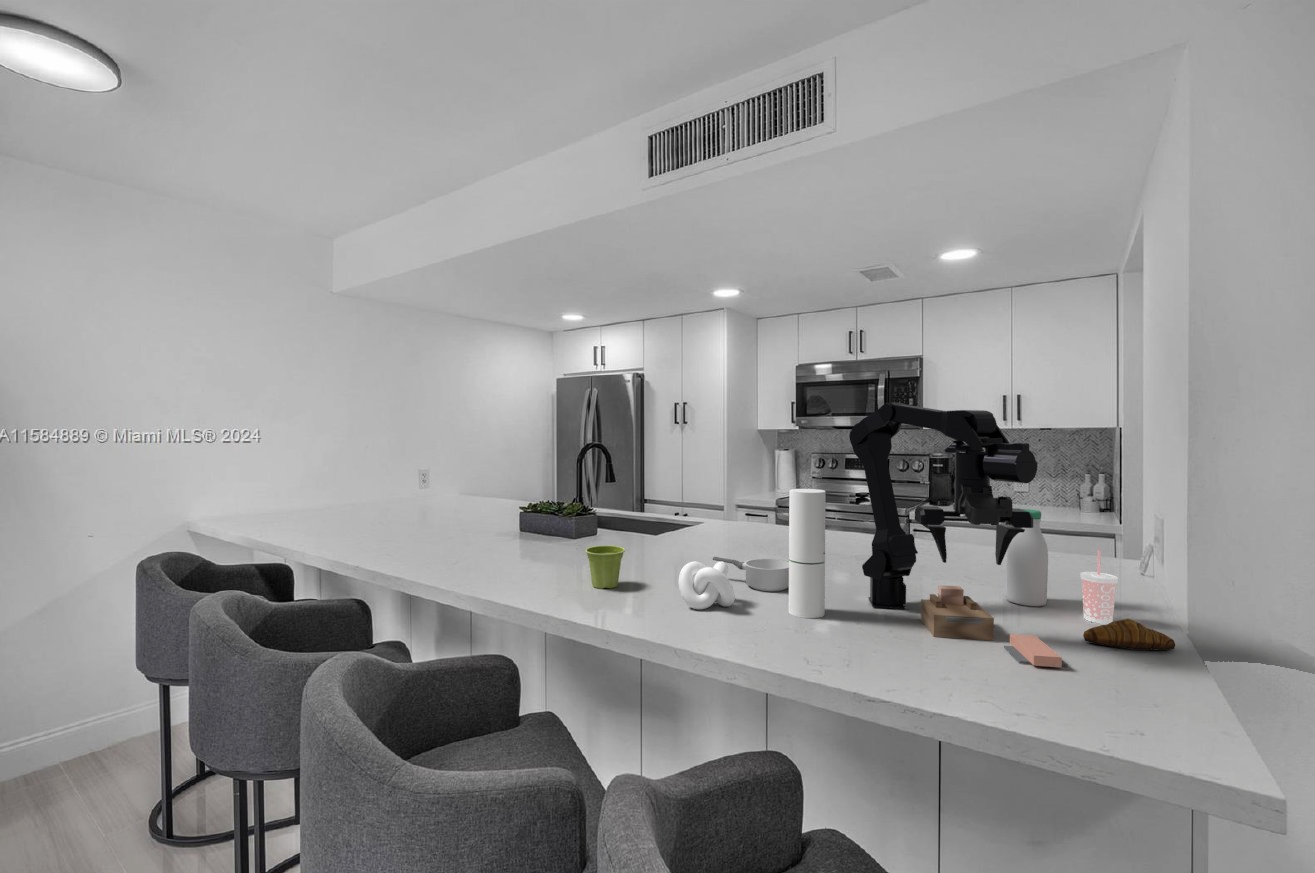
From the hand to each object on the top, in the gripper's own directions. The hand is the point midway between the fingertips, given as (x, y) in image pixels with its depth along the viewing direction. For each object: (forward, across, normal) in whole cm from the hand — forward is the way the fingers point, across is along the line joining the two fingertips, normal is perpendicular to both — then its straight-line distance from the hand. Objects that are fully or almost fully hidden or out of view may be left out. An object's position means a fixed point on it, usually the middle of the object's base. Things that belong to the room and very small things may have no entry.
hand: (971, 563), depth 112 cm
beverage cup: (+13, +27, +13) cm, 33 cm away
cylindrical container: (+13, -29, +7) cm, 33 cm away
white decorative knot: (+13, -50, +8) cm, 52 cm away
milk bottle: (+13, +18, +24) cm, 33 cm away
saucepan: (+13, -41, +27) cm, 51 cm away
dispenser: (+13, -2, +2) cm, 13 cm away
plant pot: (+13, -75, +19) cm, 79 cm away
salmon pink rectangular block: (+13, +7, -10) cm, 18 cm away
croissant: (+13, +25, -2) cm, 28 cm away
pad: (+13, +7, -10) cm, 18 cm away
